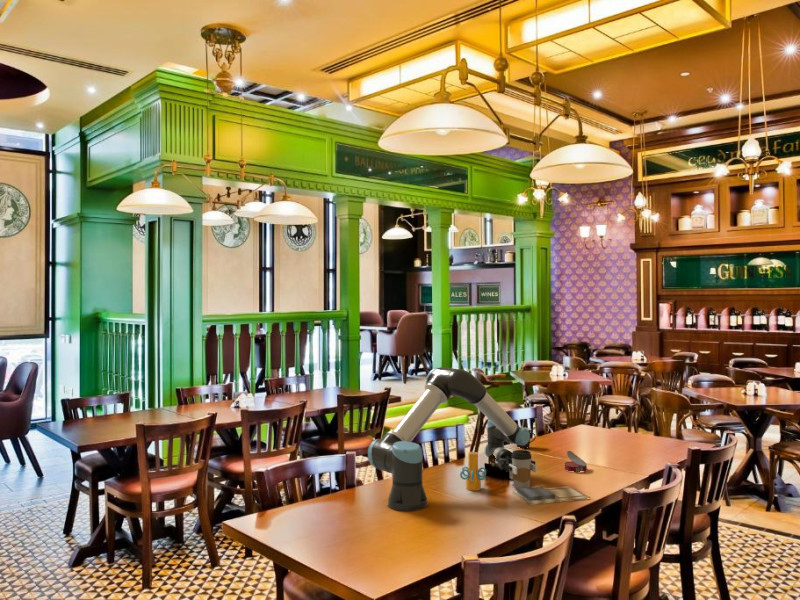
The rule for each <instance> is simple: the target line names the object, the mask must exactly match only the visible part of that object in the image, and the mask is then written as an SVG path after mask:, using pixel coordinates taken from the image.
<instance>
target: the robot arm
mask: <svg viewBox="0 0 800 600" xmlns="http://www.w3.org/2000/svg"><path fill="white" fill-rule="evenodd" d="M451 397H458V398H461V399H464V400H465V401H466V402H468V403H469V404H470V405H474V406H475V407H476V408H477V410H479V411H480V413H482V414H483V415H484V416H485V417H486V418H487V427H486V429H487V431H486V432H487V442H486V443H487V444H486V445H485V447H484V454H485V456H486V457H487V458H488V457H489V456H490V455H492V453H493V455H494V456H495V458H496V459H495V461H494V464H495V466H497V467H498V468H499V469H500V470H501V471H504V470H505V472H506V473H509V472H511V473H512V474H513V473H514V474H517V467H515V466H513V465H512V457H511V456H512V453H513V451H511V450H509V449H508V448H506V447H505V446H504V444H505V443H509V444H514V445H516V446H517V445H526V444H527V443H528V441H529V439H530V440H531V435H530V433H529V431H528V430H527V429H525V428H526V427H521V426H519V425H518V424H517V423H516V422H515V421H514V419H513V418H512V417H511V416H510V415H509V414H508V413H507V412H506V411H505V410H504V408H502V406H501V405H499V403H498V402H496V400H495V399H494V398H493V397H492V396H491V395H490V394H489V393H488V389H487V388H486V386H485V385H484V384H483V383H482V382H481V381H480V380H479V379H478V378H477V377H476V376H474V375H473V374H472V373H470V372H469V371H468V370H464V369H461V368H451V367H445V366H440V367H435V368H432V369H431V370H430V371H429V372H428V374H427V376H426V381H425V385H424V392H422V394H421V395H420V397H419V398H418V399H417V400H416V402H414V404H413V405H412V407H411V408H410V409H409V411H407V413H406V414H405V415H404V417H403V418H402V419H401V420H400V422H398V424H396V426H395V428H394V429H393V430H392V431H386V433H385V434H384V435H383V437H382V438H377V439H374V440H373V441H372V442H371V443H370V444H369V446H368V448H367V449H368V450H367V459H368V462H369V464H370V466H372V467H373V468H375V469H377V470H379V471H384V472H387V473H389V474H392V479H391V480H392V485H391V490H390V492H389V495H388V499H387V502H388V503H387V505H388V507H389V508H390V509H392V510H395V511H403V512H407V511H408V512H412V511H419V510H422V509H425V508H427V507H428V498H427V494H426V491H425V489H424V485H423V472H424V471H423V462H424V461H423V459H424V458H423V457H424V455H423V449H422V447H421V445H419V444H418V443H416V442H412V441H413V440H414V438H415V437H416V436H417V435H418V433H420V431H421V430H422V428H423V427H424V426H425V424H426V423H427V422H428V421H429V419H430V418H431V417H432V416H433V414H434V413H435V412H436V410H437V409H438V408H439V407H440V405H441V404H446V403H448V401H449V400H450V399H451ZM504 464H506V465H504ZM531 472H533V473H535V474H537V473H538V465H536V461H535V460H532V459H531Z"/></svg>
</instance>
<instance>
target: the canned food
mask: <svg viewBox="0 0 800 600" xmlns="http://www.w3.org/2000/svg"><path fill="white" fill-rule="evenodd" d="M566 456H567V457H568V459H569V460H570V461H566V462H564V470H565V469H566V470H568V471H574V472H580V471H586V470H587V471H588V469H587V468H588V467H587V466H588V465H587V462H585V460H583V459H582V458H581V457H579V456H578V455H577V454H576V453H574V452H573V451H572V450H567V452H566ZM587 471H586V472H587Z"/></svg>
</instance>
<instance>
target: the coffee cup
mask: <svg viewBox="0 0 800 600" xmlns="http://www.w3.org/2000/svg"><path fill="white" fill-rule="evenodd" d="M511 457H512V465H513V466H515V467H517V474H514V473H512V478H513V486H514V489H516V490H517V489H523V488H531V487H530V485H531V473H532V470H531V460H532V454H531V451H529V450H527V449H516V450H512V456H511Z"/></svg>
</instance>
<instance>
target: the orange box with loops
mask: <svg viewBox="0 0 800 600" xmlns="http://www.w3.org/2000/svg"><path fill="white" fill-rule="evenodd" d="M467 457H468V458H467V459H468V463H467V464H468V465H467V466H463V467H462V469H461V471H460V473H459V477H460V478H461V479H462V480H465V481H466V482H465V483H466V484H465V486H466V490H467V491H470V490H471V492H473V491H474V492H475V491H481V486H482V483H481V482H482V481H484V480H485V478H486V475H487V469H486V468H485V467H482V466H480V467H479V452H477V451H469V452H468V453H467ZM465 472H466V474H465ZM480 472H481V473H482V475H481V474H480ZM463 476H464V477H463Z"/></svg>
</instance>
